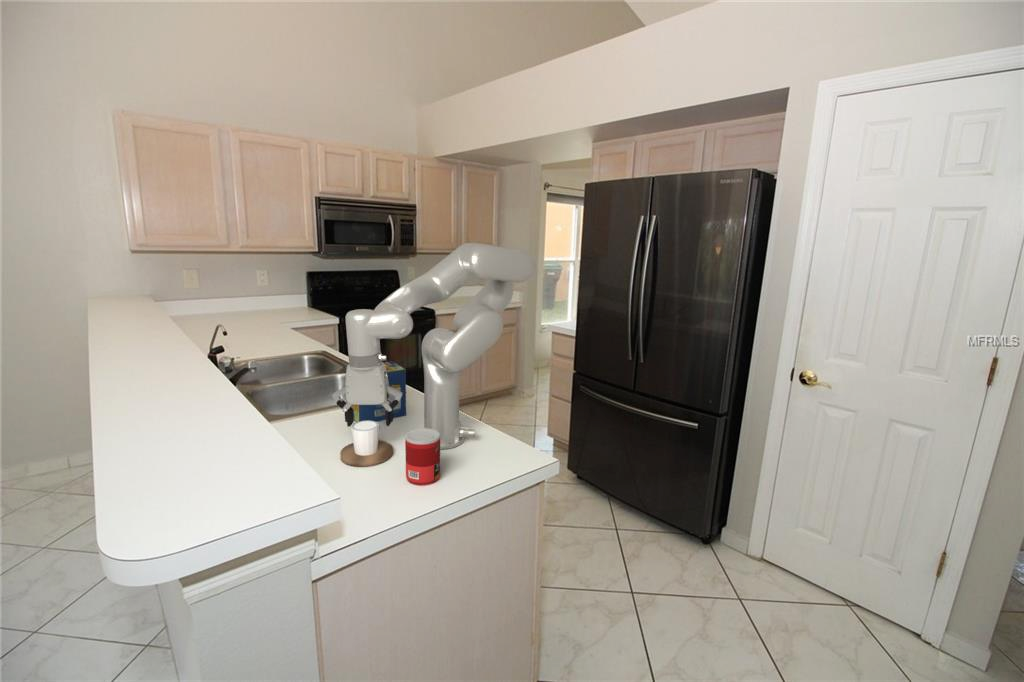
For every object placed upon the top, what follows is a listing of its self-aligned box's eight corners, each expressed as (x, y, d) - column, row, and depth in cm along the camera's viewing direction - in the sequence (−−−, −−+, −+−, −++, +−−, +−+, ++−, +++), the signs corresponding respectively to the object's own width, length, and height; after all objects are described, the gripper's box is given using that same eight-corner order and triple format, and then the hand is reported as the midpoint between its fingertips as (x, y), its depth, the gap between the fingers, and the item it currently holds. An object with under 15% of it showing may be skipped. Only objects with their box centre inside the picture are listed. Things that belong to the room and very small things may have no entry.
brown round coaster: (397, 444, 130) (397, 440, 129) (386, 467, 117) (386, 463, 117) (349, 443, 129) (349, 439, 129) (333, 466, 116) (333, 462, 116)
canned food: (442, 484, 110) (442, 440, 108) (407, 488, 108) (406, 443, 106) (437, 468, 118) (437, 426, 115) (404, 471, 115) (404, 429, 113)
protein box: (346, 414, 149) (344, 366, 145) (393, 405, 158) (392, 360, 154) (358, 426, 140) (356, 375, 137) (407, 415, 150) (406, 368, 146)
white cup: (355, 458, 118) (353, 432, 117) (349, 447, 124) (348, 422, 122) (382, 453, 121) (382, 428, 120) (376, 442, 127) (375, 418, 126)
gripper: (403, 355, 121) (406, 418, 125) (334, 355, 121) (340, 418, 125) (397, 364, 114) (401, 430, 118) (324, 364, 113) (330, 430, 118)
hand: (369, 424), depth 122 cm, fingers open, 9 cm apart
